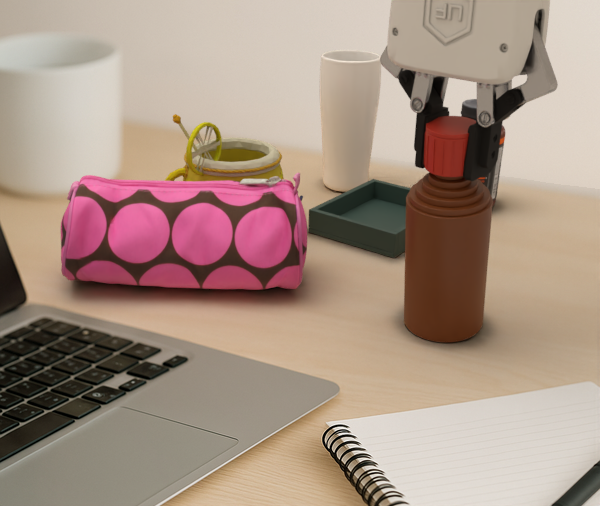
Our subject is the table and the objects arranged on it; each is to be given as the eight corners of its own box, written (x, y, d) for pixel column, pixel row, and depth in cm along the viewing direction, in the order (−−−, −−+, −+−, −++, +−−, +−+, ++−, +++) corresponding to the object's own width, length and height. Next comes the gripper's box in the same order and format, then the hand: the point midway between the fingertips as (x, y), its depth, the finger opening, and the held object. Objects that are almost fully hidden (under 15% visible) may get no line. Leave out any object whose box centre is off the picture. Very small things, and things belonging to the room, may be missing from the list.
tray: (371, 199, 93) (373, 178, 92) (453, 221, 88) (455, 198, 87) (308, 232, 85) (308, 209, 84) (393, 258, 79) (395, 234, 78)
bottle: (424, 291, 72) (430, 113, 63) (494, 310, 69) (511, 127, 60) (390, 329, 67) (391, 143, 58) (464, 351, 64) (477, 159, 55)
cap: (441, 152, 63) (443, 111, 61) (486, 163, 61) (489, 122, 59) (414, 169, 60) (415, 128, 59) (460, 182, 58) (463, 139, 56)
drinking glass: (379, 180, 99) (388, 52, 92) (366, 198, 94) (374, 63, 87) (325, 173, 101) (329, 47, 94) (309, 191, 95) (312, 58, 88)
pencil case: (303, 257, 79) (305, 156, 75) (308, 305, 71) (310, 194, 66) (77, 257, 78) (65, 155, 74) (54, 305, 70) (39, 192, 65)
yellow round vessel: (267, 200, 93) (267, 93, 87) (300, 237, 84) (302, 120, 78) (153, 213, 89) (145, 101, 83) (175, 253, 80) (168, 130, 74)
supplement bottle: (439, 210, 91) (449, 107, 86) (444, 191, 96) (454, 94, 91) (494, 215, 90) (508, 112, 84) (496, 197, 95) (509, 98, 90)
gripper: (343, -112, 54) (333, 157, 63) (583, -104, 45) (533, 211, 54) (406, -112, 60) (389, 137, 68) (633, -105, 50) (581, 182, 59)
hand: (453, 167), depth 61 cm, fingers closed on cap, 3 cm apart
